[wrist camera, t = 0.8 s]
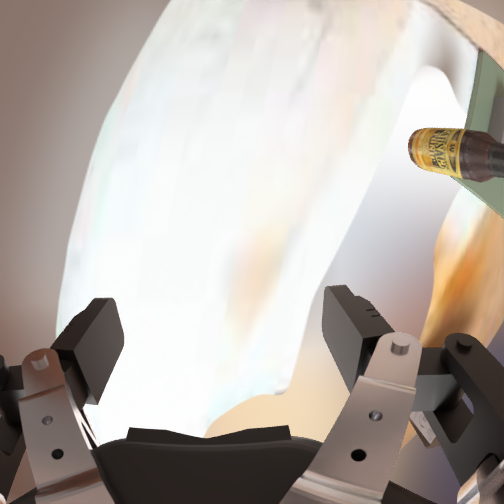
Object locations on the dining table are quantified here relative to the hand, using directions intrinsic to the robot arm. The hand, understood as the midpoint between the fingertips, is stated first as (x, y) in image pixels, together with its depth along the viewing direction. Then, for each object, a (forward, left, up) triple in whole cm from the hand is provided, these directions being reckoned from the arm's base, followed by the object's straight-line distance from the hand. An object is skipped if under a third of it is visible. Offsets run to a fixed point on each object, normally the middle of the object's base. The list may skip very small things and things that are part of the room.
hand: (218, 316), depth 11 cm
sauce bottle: (-18, +24, -29) cm, 41 cm away
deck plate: (-30, +41, -28) cm, 58 cm away
